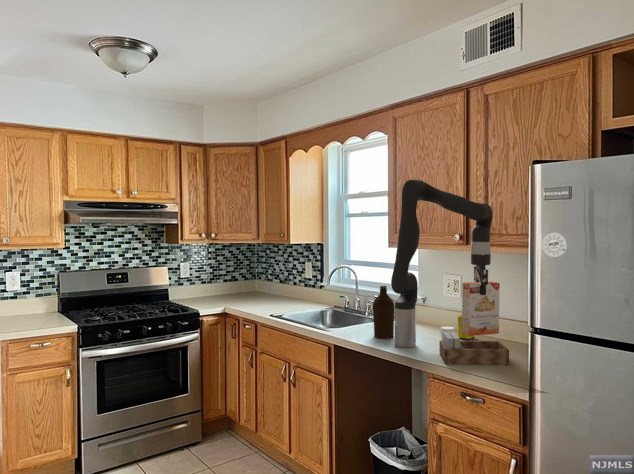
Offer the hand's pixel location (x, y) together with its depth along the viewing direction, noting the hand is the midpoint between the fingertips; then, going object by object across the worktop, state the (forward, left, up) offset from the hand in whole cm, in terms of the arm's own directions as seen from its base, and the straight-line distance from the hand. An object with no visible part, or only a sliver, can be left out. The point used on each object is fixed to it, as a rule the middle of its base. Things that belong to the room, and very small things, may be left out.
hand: (480, 293), depth 200 cm
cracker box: (0, 0, -17) cm, 17 cm away
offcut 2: (-10, 0, -27) cm, 29 cm away
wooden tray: (-3, 0, -27) cm, 27 cm away
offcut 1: (-13, 0, -27) cm, 30 cm away
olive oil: (-37, +39, -27) cm, 61 cm away
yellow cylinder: (+2, +36, -27) cm, 45 cm away
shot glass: (-8, +28, -27) cm, 40 cm away
